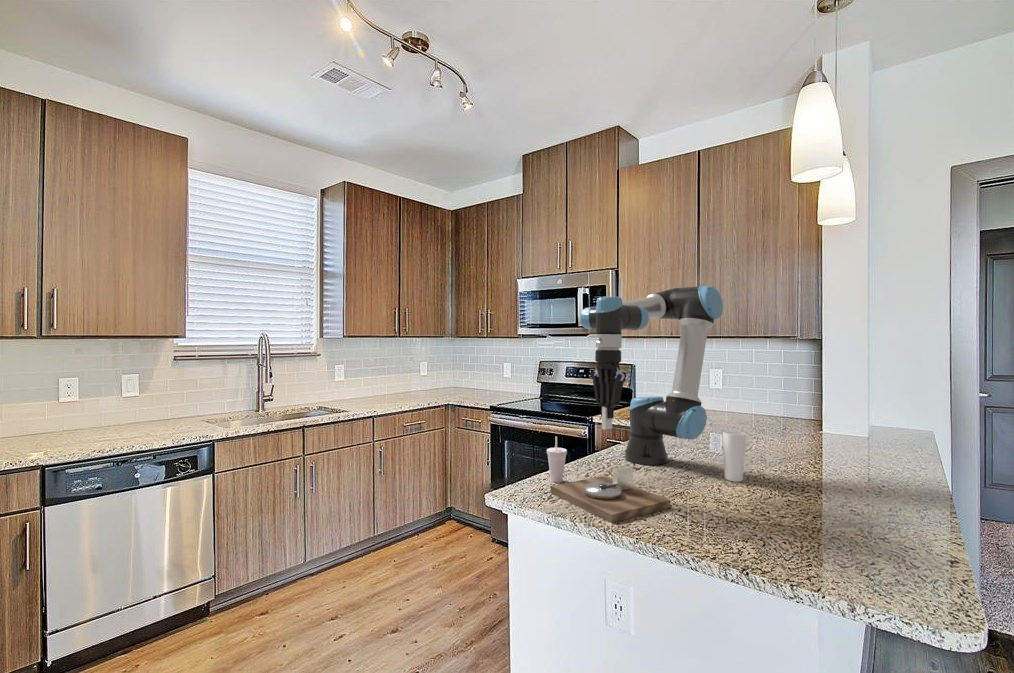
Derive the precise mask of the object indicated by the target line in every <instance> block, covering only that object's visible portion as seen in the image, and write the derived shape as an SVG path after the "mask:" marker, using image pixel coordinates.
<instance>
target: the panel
mask: <svg viewBox="0 0 1014 673" xmlns="http://www.w3.org/2000/svg"><path fill="white" fill-rule="evenodd" d="M593 482H605V483H611V484H613V477H610V476H608V475H601V476H596V477H591V478H586V479H579V480H575V481H571V482H566V483H559V484H555V485H550V494H552V495H553V496H556V497H557V498H561V500H565V501H566V502H568V503H569V504H570V503H571V504H572V505H574V506H575V507H578V508H580V509H582V510H584V511H587V512H589V513H591V515H594V516H597V517H599V518H601V519H602V520H605V521H607V522H609V523H611V524H614V523H616V522H620V521H624V520H628V519H632V518H636V517H638V516H643V515H648V514H650V513H655V512H659V511H662V510H666V509H670V508H671V499H668V498H666V497H664V496H661V495H657V494H655V493H653V492H650V491H647V490H645V489H642V488H640V487H637V486H635V485H633V488H631V489H626V490H622V491H621V497H619V498H617V499H610V500H604V499H596V498H592V497H589V496H587V495H586V494H585V493H584V487H585V485H586V484H588V483H593Z"/></svg>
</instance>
